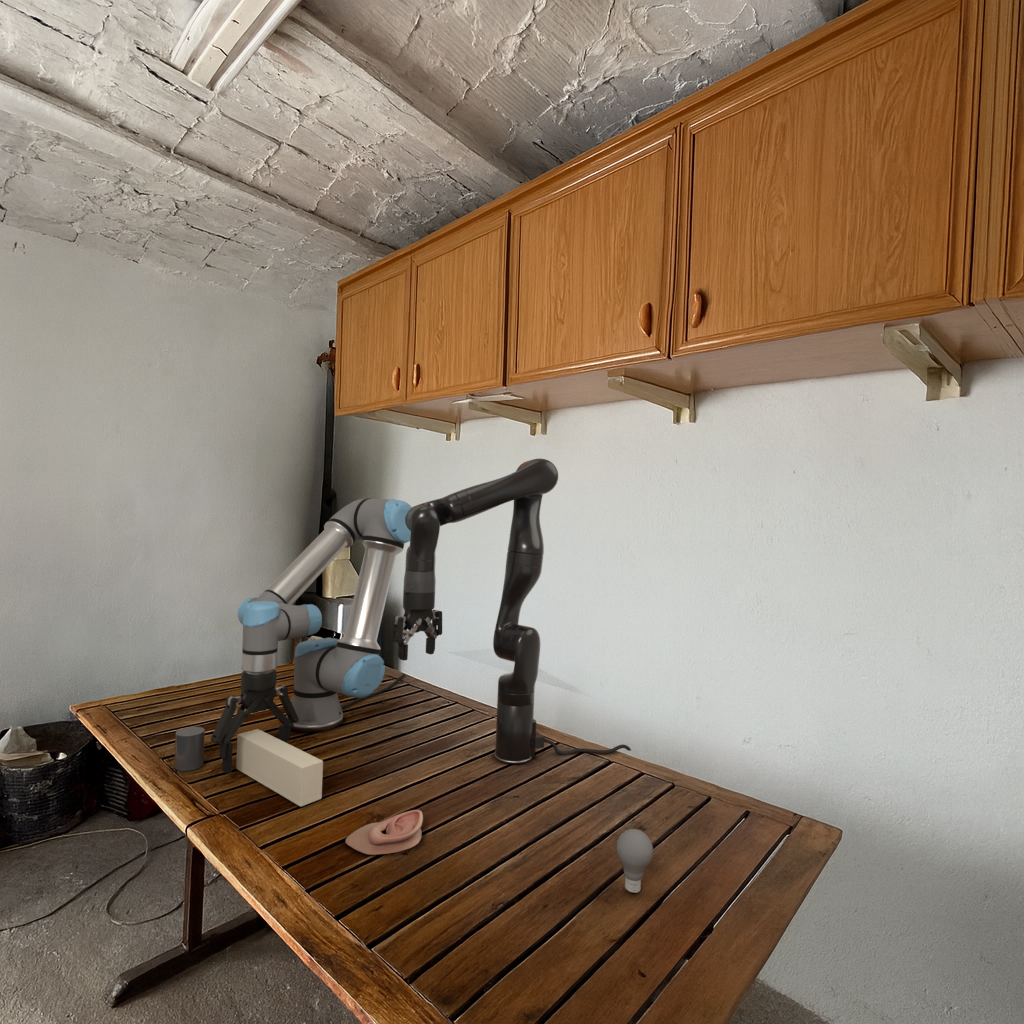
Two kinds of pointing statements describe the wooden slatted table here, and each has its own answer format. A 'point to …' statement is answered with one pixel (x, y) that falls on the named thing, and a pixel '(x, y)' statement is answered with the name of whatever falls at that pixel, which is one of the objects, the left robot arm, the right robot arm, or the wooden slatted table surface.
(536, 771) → the wooden slatted table surface
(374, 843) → the anatomical model
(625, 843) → the light bulb
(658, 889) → the wooden slatted table surface
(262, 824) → the wooden slatted table surface
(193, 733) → the dark grey cylinder
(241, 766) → the plank
